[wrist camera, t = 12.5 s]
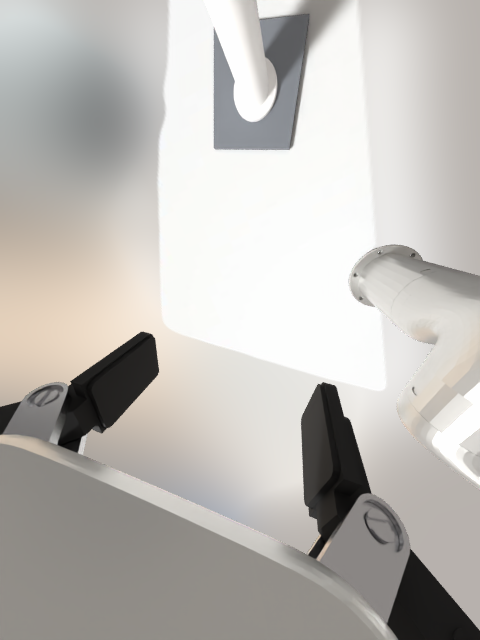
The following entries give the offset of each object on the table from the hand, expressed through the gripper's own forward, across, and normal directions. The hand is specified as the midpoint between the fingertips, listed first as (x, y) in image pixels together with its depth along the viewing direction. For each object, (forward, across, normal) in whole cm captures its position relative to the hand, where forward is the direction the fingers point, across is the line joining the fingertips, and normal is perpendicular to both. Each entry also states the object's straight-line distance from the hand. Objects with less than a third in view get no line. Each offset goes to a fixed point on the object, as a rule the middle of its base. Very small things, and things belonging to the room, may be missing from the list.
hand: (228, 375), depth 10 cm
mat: (+36, +10, -26) cm, 46 cm away
